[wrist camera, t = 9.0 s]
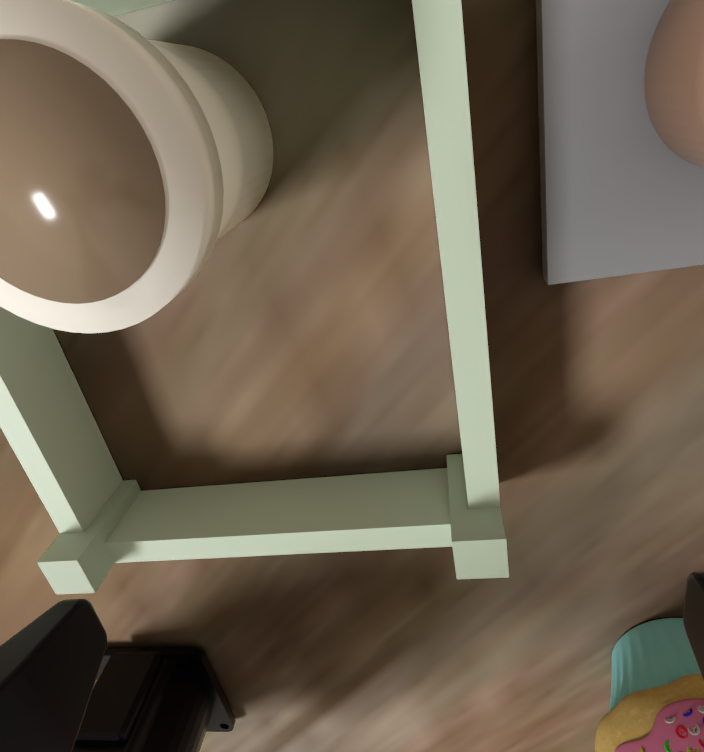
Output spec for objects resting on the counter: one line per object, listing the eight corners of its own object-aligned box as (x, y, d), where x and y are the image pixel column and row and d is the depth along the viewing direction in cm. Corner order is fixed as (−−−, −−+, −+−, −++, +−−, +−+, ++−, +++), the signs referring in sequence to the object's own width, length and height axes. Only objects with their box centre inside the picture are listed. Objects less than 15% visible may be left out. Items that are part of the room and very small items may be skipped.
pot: (306, 230, 17) (239, 315, 11) (133, 259, 18) (-19, 351, 12) (256, 3, 14) (129, -57, 8) (57, 53, 15) (-191, 32, 9)
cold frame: (493, 485, 21) (509, 577, 17) (116, 511, 24) (56, 594, 20) (442, -123, 13) (451, -212, 9) (-119, 31, 16) (-295, 15, 12)
